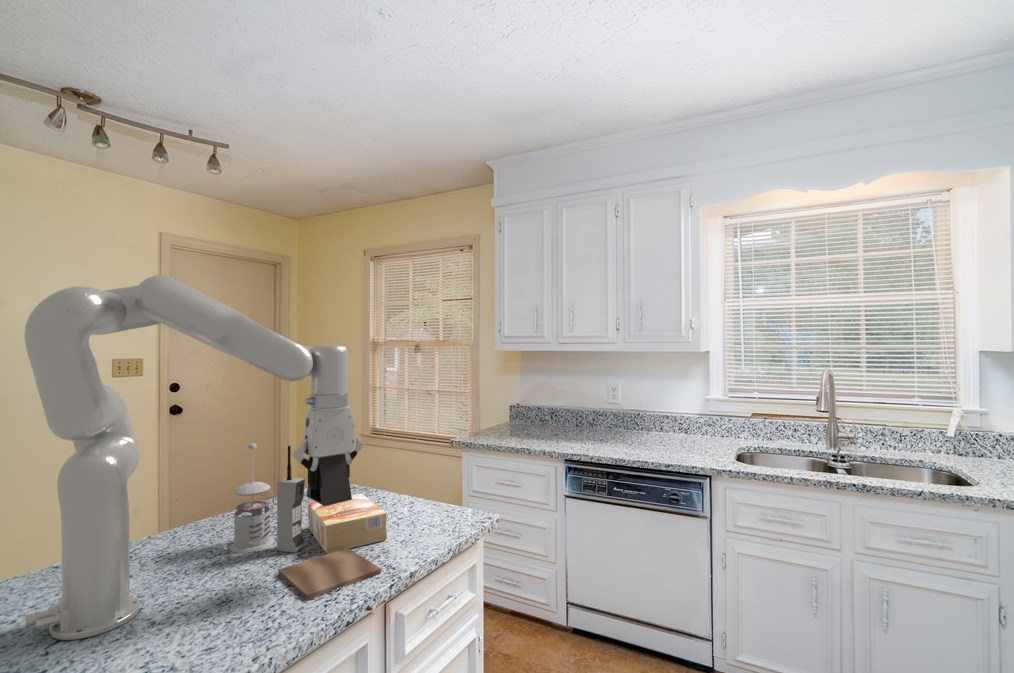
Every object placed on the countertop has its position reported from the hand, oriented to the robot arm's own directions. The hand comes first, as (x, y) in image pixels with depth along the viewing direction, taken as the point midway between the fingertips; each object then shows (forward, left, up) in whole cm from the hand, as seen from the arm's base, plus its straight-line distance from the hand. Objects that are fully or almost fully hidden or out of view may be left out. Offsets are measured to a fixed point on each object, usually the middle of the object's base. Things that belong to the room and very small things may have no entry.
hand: (329, 484), depth 108 cm
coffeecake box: (+11, +8, -16) cm, 21 cm away
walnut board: (0, 0, -19) cm, 19 cm away
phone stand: (0, 0, -3) cm, 3 cm away
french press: (-6, +28, -20) cm, 35 cm away
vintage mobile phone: (-1, +18, -20) cm, 27 cm away
